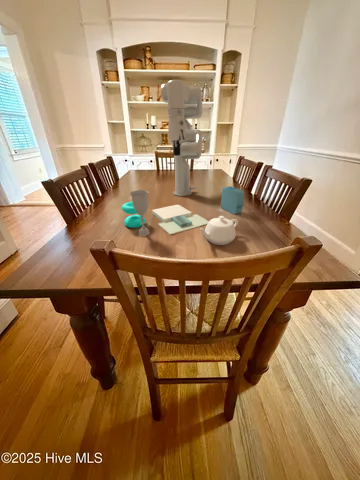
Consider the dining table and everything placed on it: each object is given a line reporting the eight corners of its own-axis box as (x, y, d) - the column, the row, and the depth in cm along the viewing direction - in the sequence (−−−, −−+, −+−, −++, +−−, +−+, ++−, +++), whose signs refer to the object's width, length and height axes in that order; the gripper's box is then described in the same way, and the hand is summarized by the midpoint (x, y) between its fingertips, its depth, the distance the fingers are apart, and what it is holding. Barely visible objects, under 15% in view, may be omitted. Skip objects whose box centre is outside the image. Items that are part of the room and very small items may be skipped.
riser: (178, 207, 113) (178, 204, 112) (191, 216, 102) (191, 212, 101) (152, 213, 106) (151, 209, 105) (163, 223, 95) (163, 219, 94)
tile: (182, 217, 99) (182, 215, 99) (191, 224, 93) (191, 221, 92) (171, 220, 97) (171, 217, 96) (180, 227, 90) (180, 224, 89)
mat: (196, 214, 104) (196, 214, 103) (210, 223, 95) (210, 222, 94) (158, 224, 94) (157, 223, 94) (169, 234, 85) (169, 233, 85)
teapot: (209, 254, 72) (211, 229, 67) (189, 240, 81) (189, 217, 76) (247, 239, 81) (251, 216, 76) (225, 227, 90) (227, 206, 85)
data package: (241, 213, 105) (245, 191, 99) (235, 215, 103) (238, 192, 97) (226, 206, 114) (228, 185, 108) (220, 208, 112) (222, 186, 106)
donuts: (120, 208, 85) (122, 201, 93) (124, 229, 90) (125, 220, 98) (144, 207, 86) (143, 199, 95) (146, 227, 91) (145, 219, 100)
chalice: (138, 238, 82) (132, 196, 73) (133, 232, 88) (127, 191, 79) (154, 234, 85) (151, 193, 76) (149, 228, 91) (145, 189, 82)
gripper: (191, 112, 90) (190, 156, 99) (175, 114, 101) (176, 153, 110) (176, 112, 87) (177, 157, 96) (162, 114, 98) (163, 154, 107)
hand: (176, 155), depth 103 cm, fingers closed
